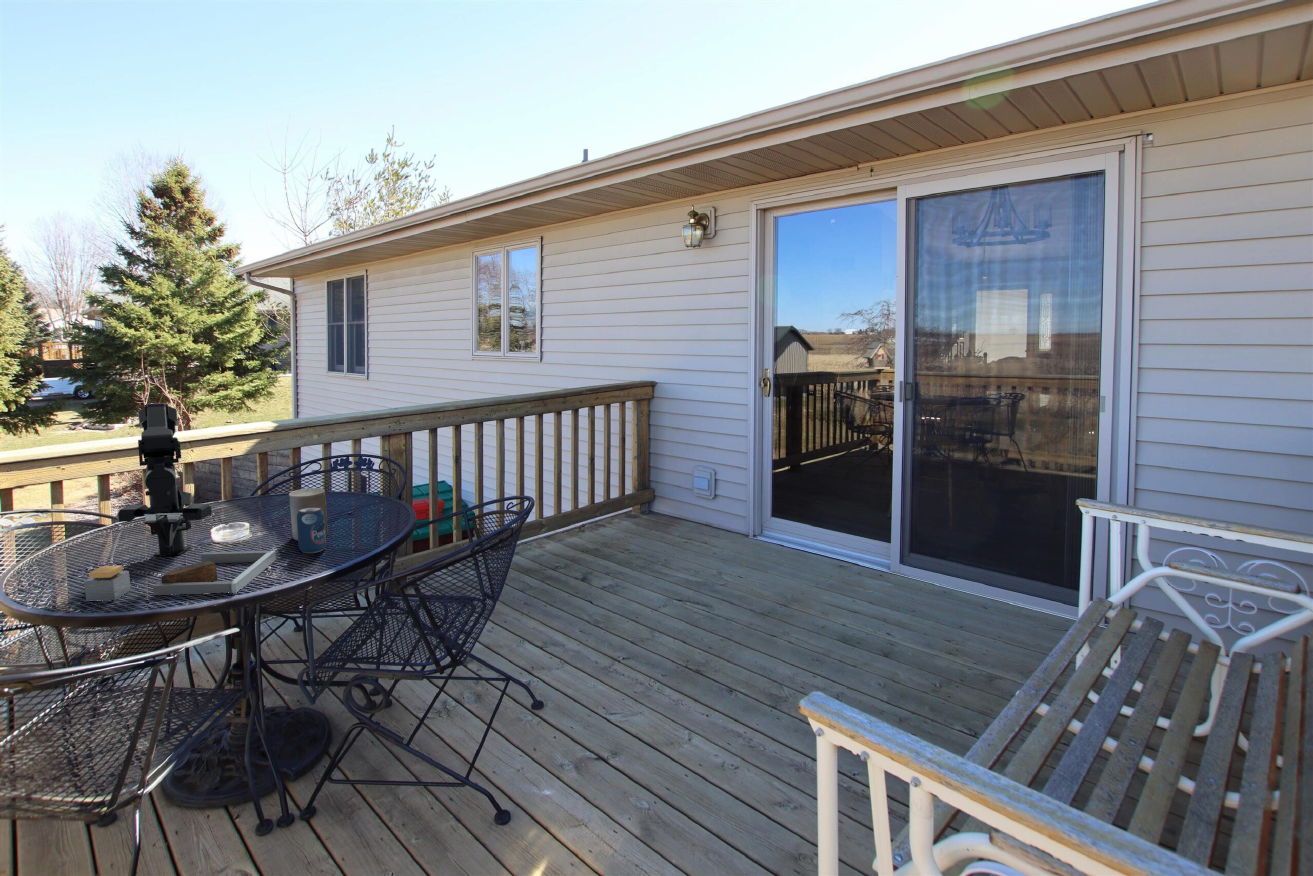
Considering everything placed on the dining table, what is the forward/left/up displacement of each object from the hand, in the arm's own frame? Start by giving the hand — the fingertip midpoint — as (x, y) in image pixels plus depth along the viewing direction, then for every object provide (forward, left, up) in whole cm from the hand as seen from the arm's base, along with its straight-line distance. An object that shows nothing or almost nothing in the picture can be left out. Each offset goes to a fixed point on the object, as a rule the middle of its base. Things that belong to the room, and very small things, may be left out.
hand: (168, 545), depth 172 cm
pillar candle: (-32, +22, -9) cm, 40 cm away
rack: (0, +10, -8) cm, 13 cm away
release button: (+11, -8, -7) cm, 15 cm away
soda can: (-19, +27, -9) cm, 34 cm away
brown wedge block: (+5, +7, -9) cm, 12 cm away
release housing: (+11, -8, -8) cm, 16 cm away
